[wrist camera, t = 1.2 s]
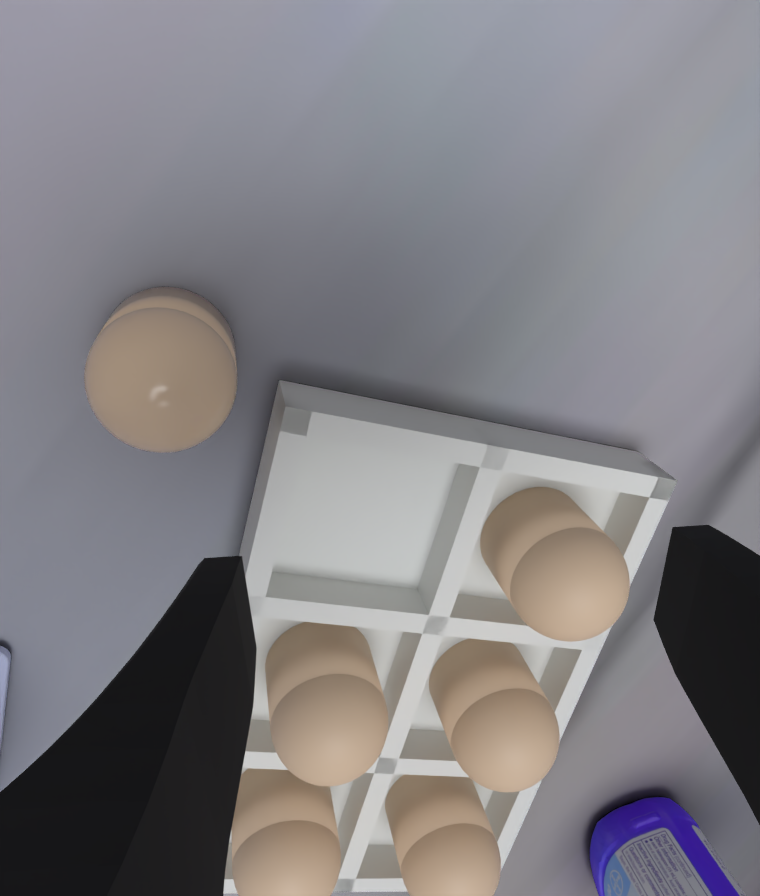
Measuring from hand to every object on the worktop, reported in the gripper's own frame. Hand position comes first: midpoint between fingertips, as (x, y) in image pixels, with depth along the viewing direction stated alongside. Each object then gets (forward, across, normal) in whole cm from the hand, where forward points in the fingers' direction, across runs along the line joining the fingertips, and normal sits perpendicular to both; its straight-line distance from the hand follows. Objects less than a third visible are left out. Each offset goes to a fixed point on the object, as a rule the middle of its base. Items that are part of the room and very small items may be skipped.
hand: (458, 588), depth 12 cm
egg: (+12, +7, 0) cm, 14 cm away
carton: (+12, 0, +13) cm, 18 cm away
